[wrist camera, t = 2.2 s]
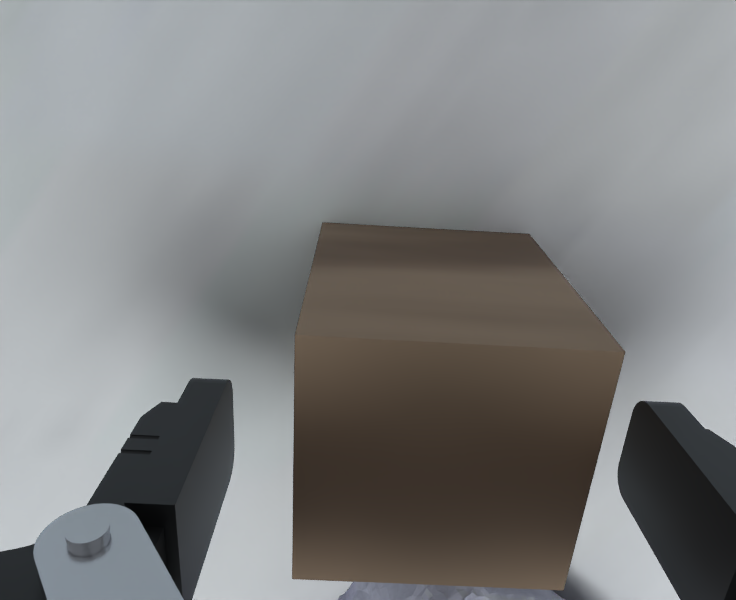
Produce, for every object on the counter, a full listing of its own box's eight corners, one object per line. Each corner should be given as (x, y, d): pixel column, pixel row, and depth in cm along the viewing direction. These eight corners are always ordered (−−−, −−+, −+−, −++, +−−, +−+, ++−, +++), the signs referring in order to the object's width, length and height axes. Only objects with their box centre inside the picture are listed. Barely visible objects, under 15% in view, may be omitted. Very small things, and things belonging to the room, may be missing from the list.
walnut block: (322, 221, 15) (295, 335, 9) (528, 233, 15) (625, 352, 9) (317, 398, 17) (291, 579, 11) (498, 407, 17) (563, 590, 11)
